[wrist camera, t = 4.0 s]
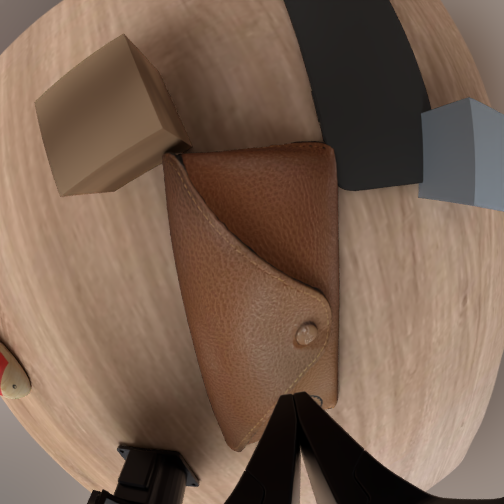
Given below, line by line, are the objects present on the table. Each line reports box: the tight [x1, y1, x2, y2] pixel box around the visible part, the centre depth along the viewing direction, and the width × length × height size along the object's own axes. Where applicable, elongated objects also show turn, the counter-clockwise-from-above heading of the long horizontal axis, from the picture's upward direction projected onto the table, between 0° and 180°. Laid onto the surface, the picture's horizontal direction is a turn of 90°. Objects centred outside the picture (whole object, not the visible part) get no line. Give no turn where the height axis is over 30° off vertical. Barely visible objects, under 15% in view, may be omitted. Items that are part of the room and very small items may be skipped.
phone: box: [284, 0, 431, 191], centre depth 12 cm, size 7×1×15 cm
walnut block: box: [35, 34, 193, 197], centre depth 10 cm, size 5×5×5 cm
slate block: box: [418, 97, 504, 212], centre depth 11 cm, size 5×5×5 cm
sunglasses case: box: [162, 141, 339, 452], centre depth 14 cm, size 18×7×7 cm
